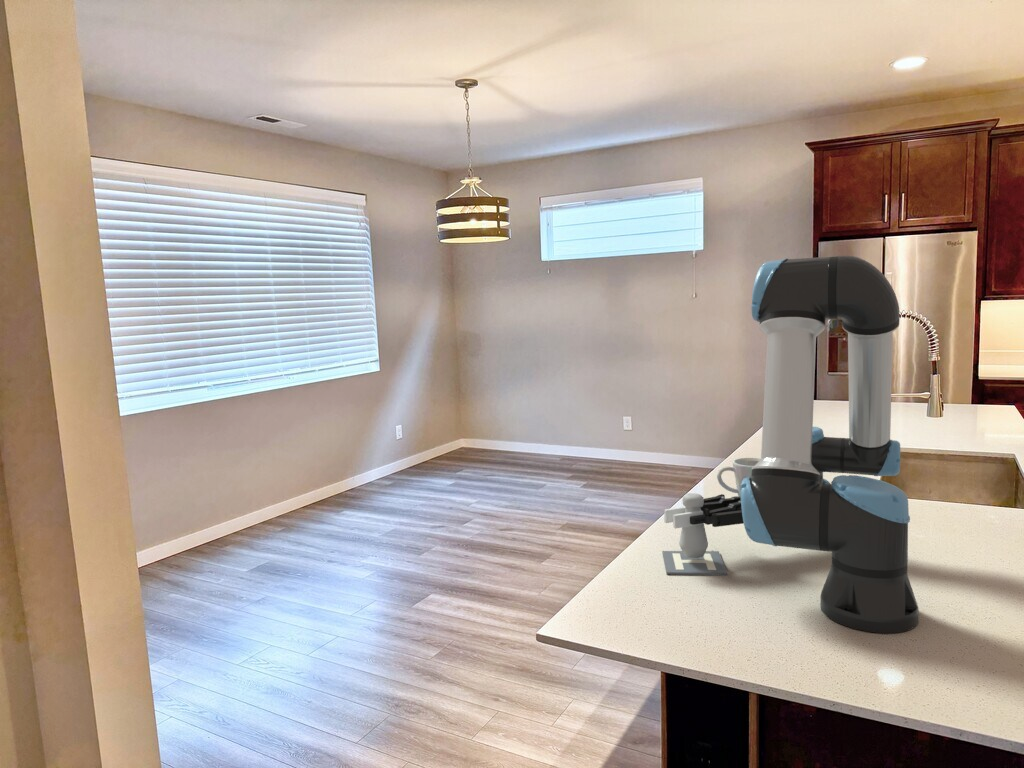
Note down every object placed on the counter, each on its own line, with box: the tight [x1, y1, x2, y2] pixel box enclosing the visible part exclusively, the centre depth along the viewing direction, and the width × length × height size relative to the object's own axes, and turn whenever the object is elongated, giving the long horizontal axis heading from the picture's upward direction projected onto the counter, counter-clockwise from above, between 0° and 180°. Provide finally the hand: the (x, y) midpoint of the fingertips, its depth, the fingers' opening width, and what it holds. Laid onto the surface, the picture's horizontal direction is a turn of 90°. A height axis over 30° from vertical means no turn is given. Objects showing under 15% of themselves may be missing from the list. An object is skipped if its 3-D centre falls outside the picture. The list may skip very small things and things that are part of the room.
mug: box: [716, 457, 761, 497], centre depth 190 cm, size 10×15×10 cm
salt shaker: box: [678, 492, 709, 558], centre depth 145 cm, size 6×6×13 cm
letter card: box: [661, 550, 729, 576], centre depth 146 cm, size 12×12×1 cm
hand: (669, 518), depth 143 cm, fingers closed on salt shaker, 3 cm apart
